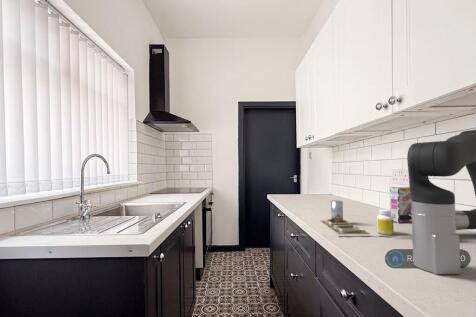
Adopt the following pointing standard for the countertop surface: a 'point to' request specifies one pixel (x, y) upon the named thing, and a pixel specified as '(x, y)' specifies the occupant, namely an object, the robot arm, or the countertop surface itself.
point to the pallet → (345, 228)
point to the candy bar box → (400, 202)
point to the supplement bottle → (385, 223)
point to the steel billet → (336, 211)
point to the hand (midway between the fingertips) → (405, 220)
